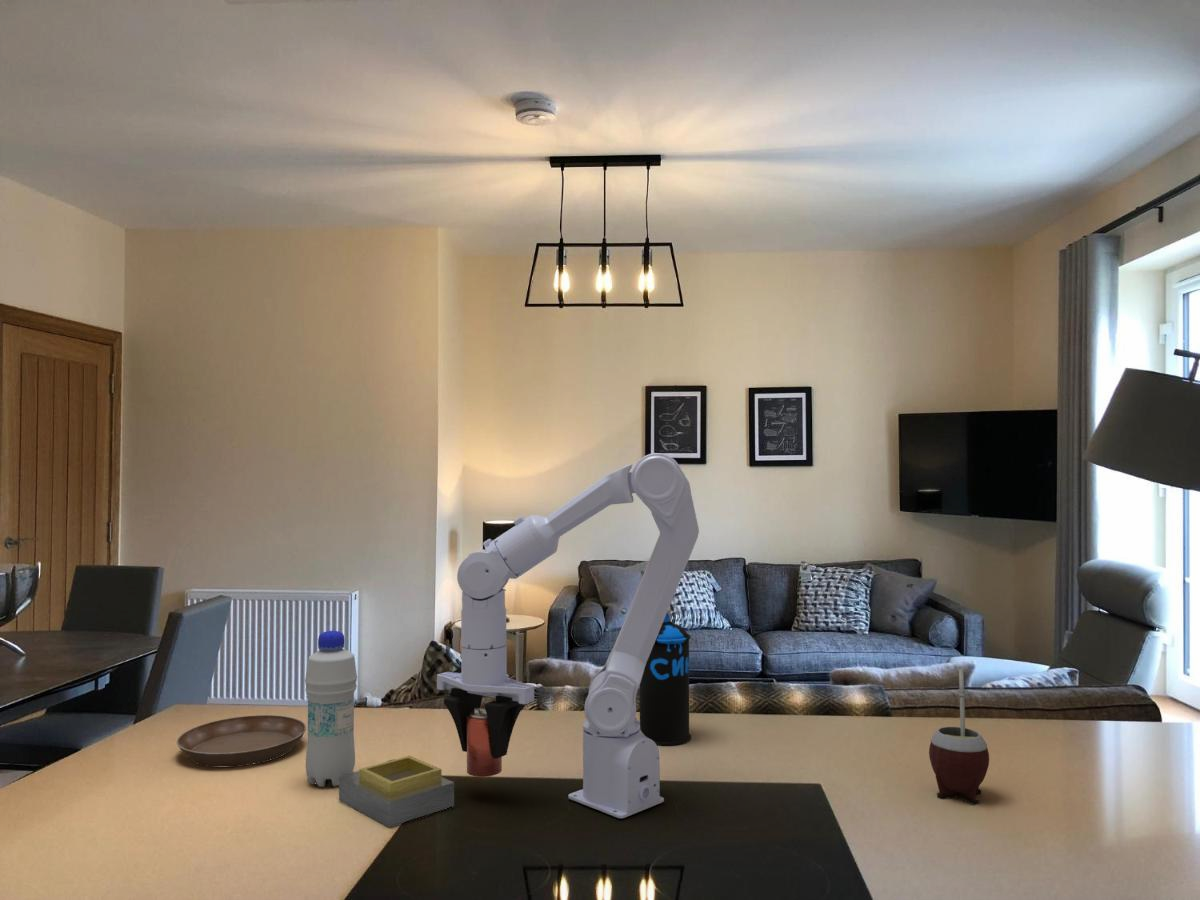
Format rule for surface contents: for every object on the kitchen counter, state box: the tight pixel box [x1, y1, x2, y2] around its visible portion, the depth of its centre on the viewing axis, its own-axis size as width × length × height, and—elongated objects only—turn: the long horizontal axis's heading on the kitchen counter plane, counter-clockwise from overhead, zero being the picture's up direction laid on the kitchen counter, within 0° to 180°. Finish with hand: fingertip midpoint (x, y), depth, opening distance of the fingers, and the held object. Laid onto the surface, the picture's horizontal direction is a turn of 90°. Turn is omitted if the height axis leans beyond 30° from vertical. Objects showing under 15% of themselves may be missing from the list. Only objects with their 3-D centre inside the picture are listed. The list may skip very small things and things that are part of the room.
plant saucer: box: [176, 714, 307, 767], centre depth 128 cm, size 18×18×3 cm
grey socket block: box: [338, 755, 455, 829], centre depth 108 cm, size 14×9×4 cm, turn 45°
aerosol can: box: [639, 607, 692, 747], centre depth 135 cm, size 8×8×20 cm
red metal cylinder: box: [466, 707, 503, 778], centre depth 110 cm, size 4×4×8 cm
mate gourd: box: [928, 668, 990, 806], centre depth 111 cm, size 8×8×15 cm
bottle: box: [304, 630, 358, 788], centre depth 116 cm, size 7×7×20 cm
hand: (484, 752), depth 110 cm, fingers closed on red metal cylinder, 4 cm apart
